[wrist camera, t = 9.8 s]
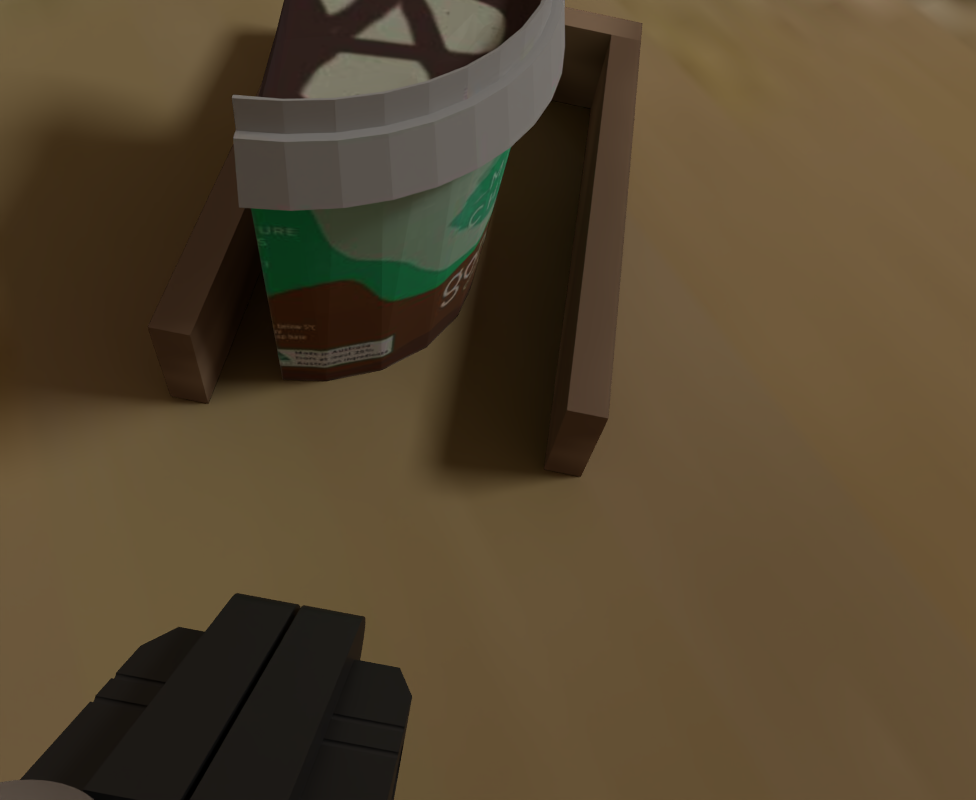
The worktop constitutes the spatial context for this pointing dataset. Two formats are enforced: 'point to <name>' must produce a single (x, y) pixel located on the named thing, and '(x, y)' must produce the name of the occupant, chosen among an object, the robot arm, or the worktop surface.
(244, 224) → the bay
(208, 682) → the robot arm
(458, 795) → the worktop surface
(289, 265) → the food container
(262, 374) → the worktop surface
